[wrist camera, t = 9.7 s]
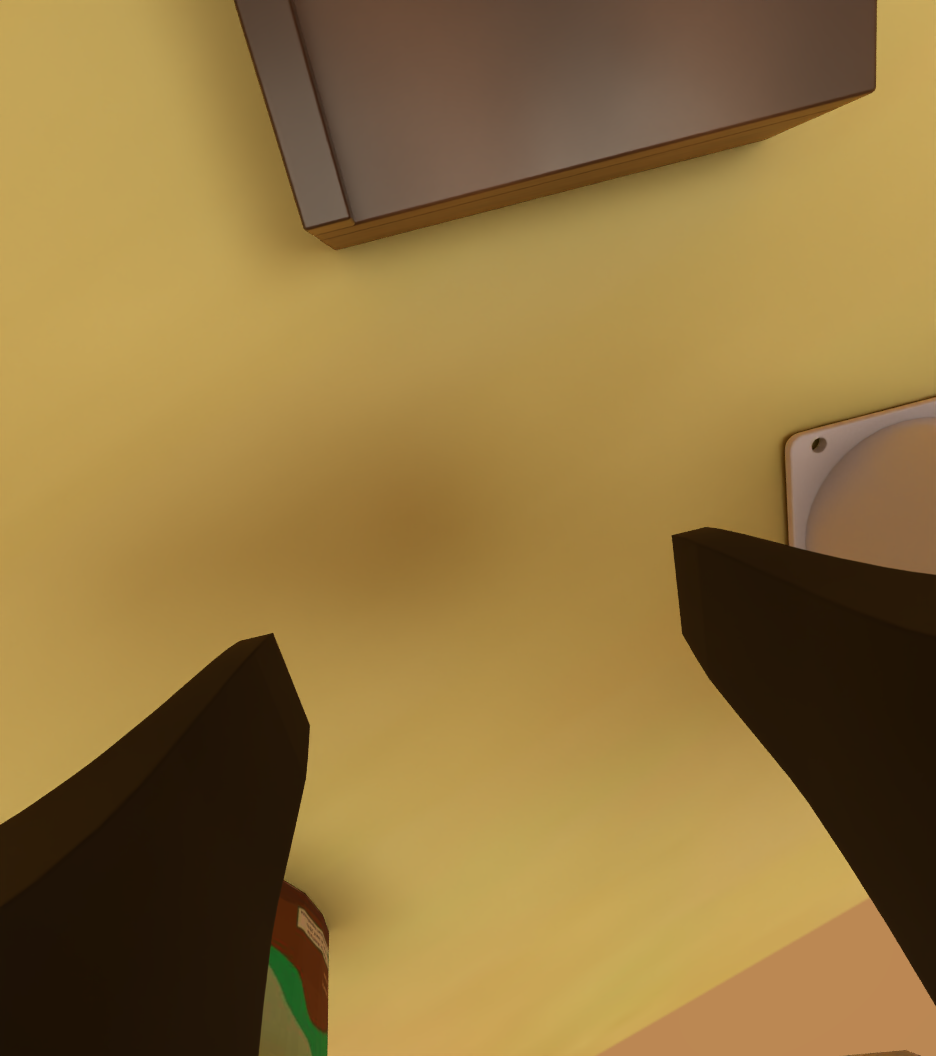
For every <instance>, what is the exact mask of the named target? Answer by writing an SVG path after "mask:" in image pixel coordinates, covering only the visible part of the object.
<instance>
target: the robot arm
mask: <svg viewBox="0 0 936 1056" xmlns="http://www.w3.org/2000/svg"><path fill="white" fill-rule="evenodd" d="M817 438H819V445H818V446H817V447H816V448H815V449H813V450H812V443H813V442H814V441H815V440H816V439H817ZM785 466H786V489H787V512H788V535H789V546H788V545H784V544H780V543H776V542H772V541H768V540H764V539H761V538H757V537H753V536H749V535H745V534H741V533H736V532H732V531H727V530H723V529H717V528H709V527H704V528H700V529H696V530H692V531H688V532H684V533H680V534H675V535H672V542H673V551H674V561H675V570H676V580H677V589H678V599H679V608H680V617H681V627H682V634H683V636H684V638H685V639H686V641H687V643H688V645H689V646H690V648H691V650H692V652H693V653H694V655H695V657H696V658H697V660H698V662H699V663H700V665H701V666H702V668H703V670H704V671H705V673H706V675H707V676H708V678H709V679H710V680H711V682H712V683H713V684H714V685H715V687H716V688H717V689H718V691H719V692H720V693H721V694H722V695H723V697H724V698H725V699H726V700H727V702H728V703H729V704H730V705H731V707H732V708H733V709H734V710H735V712H736V713H737V714H738V715H739V717H740V718H741V719H742V720H743V721H744V723H745V724H746V725H747V726H748V727H749V729H750V730H751V731H752V732H753V734H754V735H755V736H756V737H757V738H758V740H759V741H760V742H761V743H762V745H763V746H764V747H765V748H766V749H767V751H768V752H769V753H770V754H771V756H772V757H773V758H774V759H775V760H776V762H777V763H778V764H779V765H780V767H781V768H782V769H783V770H784V771H785V773H786V774H787V775H788V776H789V778H790V779H791V780H792V782H793V783H794V784H795V786H796V787H797V788H798V790H799V791H800V792H801V794H802V795H803V796H804V798H805V799H806V800H807V801H808V803H809V804H810V806H811V807H812V809H813V810H814V812H815V813H816V815H817V816H818V818H819V819H820V821H821V822H822V824H823V825H824V827H825V829H826V830H827V832H828V833H829V835H830V836H831V838H832V839H833V841H834V842H835V844H836V845H837V847H838V848H839V850H840V851H841V853H842V854H843V856H844V857H845V859H846V860H847V862H848V863H849V865H850V867H851V868H852V870H853V871H854V873H855V875H856V876H857V878H858V879H859V881H860V882H861V884H862V886H863V887H864V889H865V890H866V892H867V894H868V895H869V897H870V898H871V900H872V901H873V903H874V904H875V906H876V908H877V909H878V911H879V912H880V914H881V916H882V917H883V918H884V920H885V922H886V923H887V925H888V927H889V928H890V930H891V932H892V934H893V935H894V937H895V938H896V940H897V942H898V944H899V945H900V947H901V948H902V950H903V952H904V953H905V955H906V957H907V959H908V960H909V962H910V964H911V965H912V967H913V969H914V970H915V972H916V973H917V975H918V977H919V979H920V980H921V982H922V984H923V985H924V987H925V989H926V990H927V992H928V994H929V995H930V997H931V999H932V1000H933V1002H934V1004H935V1005H936V397H934V398H930V399H927V400H923V401H919V402H915V403H911V404H907V405H903V406H899V407H896V408H892V409H888V410H884V411H880V412H876V413H872V414H869V415H865V416H861V417H857V418H853V419H849V420H845V421H842V422H838V423H834V424H830V425H826V426H822V427H818V428H814V429H811V430H807V431H803V432H799V433H797V434H794V435H793V436H792V437H790V438H789V439H788V441H787V443H786V446H785ZM309 731H310V724H309V722H308V719H307V717H306V714H305V712H304V709H303V707H302V704H301V702H300V699H299V697H298V694H297V692H296V689H295V687H294V684H293V682H292V679H291V677H290V674H289V672H288V669H287V667H286V664H285V662H284V659H283V657H282V654H281V652H280V649H279V647H278V644H277V642H276V639H275V637H274V634H273V633H271V634H267V635H263V636H259V637H255V638H250V639H246V640H242V641H239V642H237V643H236V644H234V645H233V646H231V647H230V648H228V649H227V650H226V651H224V652H223V653H222V654H221V655H219V656H218V657H217V658H216V659H214V660H213V661H212V662H211V663H210V664H209V665H207V666H206V667H205V668H204V669H203V670H202V671H200V672H199V673H198V674H197V675H196V676H195V677H193V678H192V679H191V680H190V681H189V682H188V683H187V684H185V685H184V686H183V687H182V688H181V689H180V690H178V691H177V692H176V693H175V694H174V695H173V696H172V697H170V698H169V699H168V700H167V701H166V702H165V703H164V704H162V705H161V706H160V707H159V708H158V709H157V710H155V711H154V712H153V713H152V714H151V715H149V716H148V717H147V718H146V719H144V720H143V721H142V722H141V723H140V724H138V725H137V726H136V727H135V728H133V729H132V730H131V731H130V732H129V733H127V734H126V735H125V736H124V737H122V738H121V739H120V740H119V741H117V742H116V743H115V744H114V745H113V746H111V747H110V748H109V749H108V750H106V751H105V752H104V753H103V754H101V755H100V756H99V757H98V758H96V759H95V760H94V761H92V762H91V763H90V764H88V765H87V766H86V767H84V768H83V769H82V770H80V771H79V772H78V773H76V774H75V775H73V776H72V777H71V778H69V779H68V780H67V781H65V782H64V783H62V784H61V785H59V786H58V787H57V788H55V789H54V790H52V791H51V792H49V793H48V794H46V795H45V796H44V797H42V798H41V799H39V800H38V801H36V802H35V803H34V804H32V805H31V806H29V807H28V808H26V809H25V810H23V811H22V812H20V813H19V814H17V815H15V816H14V817H12V818H11V819H9V820H7V821H6V822H4V823H2V824H1V825H0V1056H259V1047H260V1037H261V1027H262V1017H263V1007H264V998H265V990H266V982H267V973H268V965H269V957H270V949H271V940H272V933H273V928H274V922H275V917H276V912H277V906H278V901H279V897H280V892H281V888H282V884H283V879H284V875H285V870H286V866H287V861H288V857H289V853H290V848H291V844H292V839H293V835H294V831H295V826H296V822H297V817H298V813H299V808H300V803H301V799H302V794H303V789H304V785H305V780H306V772H307V761H308V748H309ZM848 1056H920V1055H917V1054H915V1053H912V1052H909V1051H906V1050H903V1051H892V1052H881V1053H870V1054H859V1055H848Z"/></svg>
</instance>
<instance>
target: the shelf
mask: <svg viewBox="0 0 936 1056" xmlns="http://www.w3.org/2000/svg"><path fill="white" fill-rule="evenodd" d="M234 3H235V6H236V10H237V13H238V16H239V19H240V23H241V26H242V29H243V32H244V36H245V39H246V42H247V46H248V49H249V52H250V55H251V59H252V62H253V65H254V68H255V72H256V75H257V78H258V81H259V85H260V88H261V91H262V94H263V98H264V101H265V104H266V108H267V111H268V114H269V117H270V121H271V124H272V127H273V130H274V134H275V137H276V140H277V143H278V147H279V150H280V153H281V156H282V160H283V163H284V166H285V169H286V173H287V176H288V179H289V183H290V186H291V189H292V192H293V196H294V199H295V202H296V205H297V209H298V212H299V215H300V218H301V222H302V225H303V228H304V229H305V230H306V231H307V232H309V233H310V234H312V235H314V236H315V237H317V238H318V239H320V240H321V241H322V242H324V243H325V244H327V245H329V246H330V247H332V248H333V249H335V250H338V249H342V248H346V247H350V246H354V245H358V244H362V243H366V242H369V241H373V240H377V239H381V238H385V237H389V236H393V235H397V234H400V233H404V232H408V231H412V230H416V229H420V228H424V227H428V226H432V225H435V224H439V223H443V222H447V221H451V220H455V219H459V218H463V217H466V216H470V215H474V214H478V213H482V212H486V211H490V210H494V209H498V208H501V207H505V206H509V205H513V204H517V203H521V202H525V201H529V200H532V199H536V198H540V197H544V196H548V195H552V194H556V193H560V192H564V191H567V190H571V189H575V188H579V187H583V186H587V185H591V184H595V183H598V182H602V181H606V180H610V179H614V178H618V177H622V176H626V175H629V174H633V173H637V172H641V171H645V170H649V169H653V168H657V167H661V166H664V165H668V164H672V163H676V162H680V161H684V160H688V159H692V158H695V157H699V156H703V155H707V154H711V153H715V152H719V151H723V150H727V149H730V148H734V147H738V146H742V145H746V144H750V143H754V142H758V141H761V140H765V139H768V138H770V137H772V136H775V135H777V134H779V133H781V132H784V131H786V130H788V129H791V128H793V127H795V126H797V125H800V124H802V123H804V122H807V121H809V120H811V119H813V118H816V117H818V116H820V115H823V114H825V113H827V112H830V111H832V110H834V109H836V108H838V107H841V106H843V105H845V104H848V103H850V102H852V101H854V100H857V99H859V98H861V97H864V96H866V95H868V94H870V93H872V92H873V91H875V88H876V32H877V0H234Z"/></svg>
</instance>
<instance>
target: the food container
mask: <svg viewBox="0 0 936 1056" xmlns="http://www.w3.org/2000/svg"><path fill="white" fill-rule="evenodd" d="M328 969H329V932H328V929H327V926H326V923H325V920H324V917H323V915H322V914H321V913H320V911H319V910H318V909H317V908H316V907H315V905H314V904H313V903H312V902H311V900H310V899H309V898H308V897H307V896H306V894H304V893H303V892H301V891H299V890H298V889H296V888H295V887H293V886H291V885H290V884H288V883H287V882H285V881H284V880H283V884H282V888H281V892H280V897H279V901H278V906H277V912H276V917H275V922H274V928H273V933H272V940H271V949H270V957H269V965H268V973H267V982H266V990H265V998H264V1007H263V1017H262V1027H261V1037H260V1047H259V1056H327V1045H328Z"/></svg>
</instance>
